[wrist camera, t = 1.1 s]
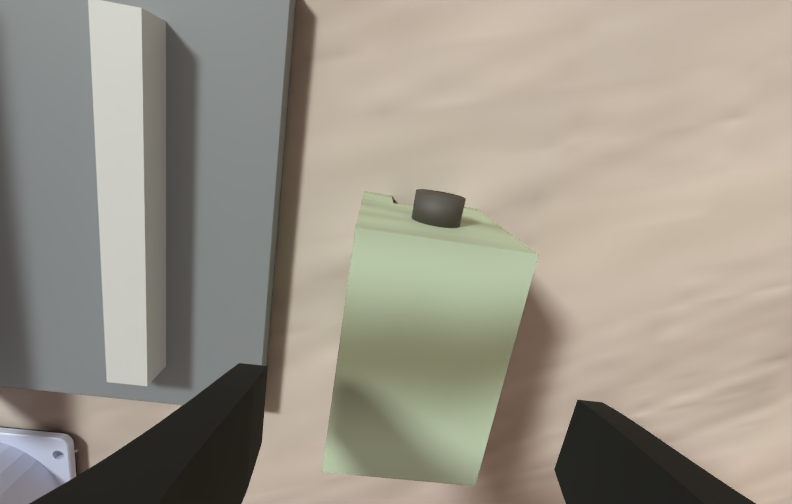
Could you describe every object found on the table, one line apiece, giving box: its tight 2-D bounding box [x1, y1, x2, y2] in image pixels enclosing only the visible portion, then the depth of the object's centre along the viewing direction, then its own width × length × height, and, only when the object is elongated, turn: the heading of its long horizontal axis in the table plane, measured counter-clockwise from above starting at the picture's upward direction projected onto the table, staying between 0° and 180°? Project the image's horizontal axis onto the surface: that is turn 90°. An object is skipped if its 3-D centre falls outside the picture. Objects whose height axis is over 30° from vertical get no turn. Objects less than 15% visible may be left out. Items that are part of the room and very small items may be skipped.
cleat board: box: [0, 0, 296, 405], centre depth 14 cm, size 18×14×5 cm
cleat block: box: [322, 189, 539, 486], centre depth 15 cm, size 9×5×7 cm, turn 171°
